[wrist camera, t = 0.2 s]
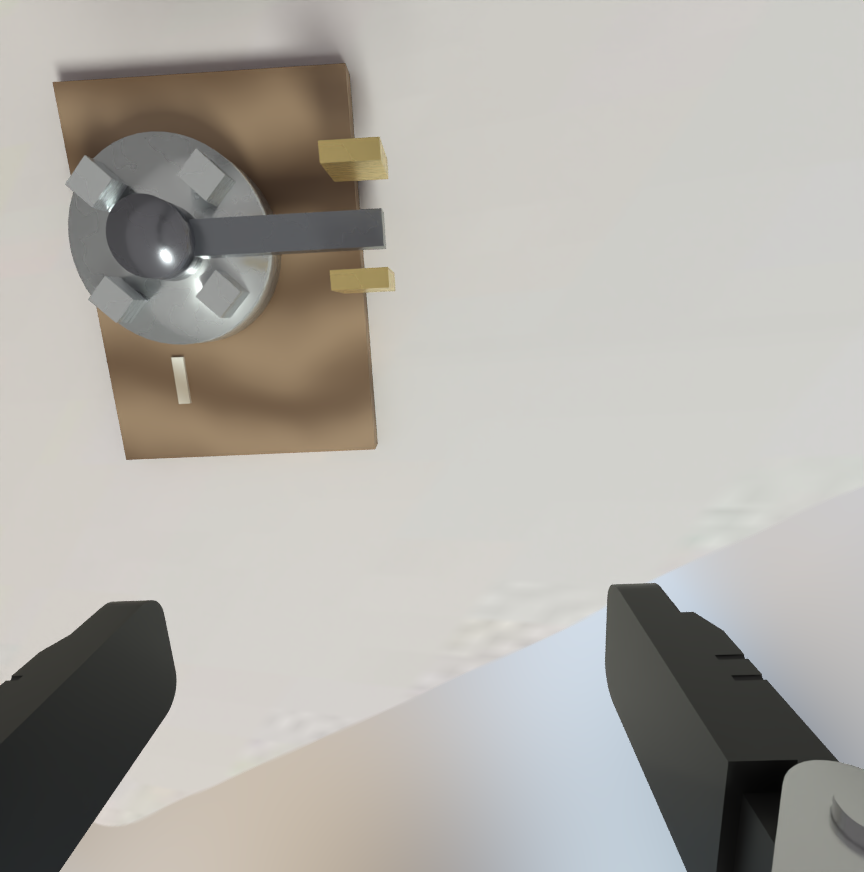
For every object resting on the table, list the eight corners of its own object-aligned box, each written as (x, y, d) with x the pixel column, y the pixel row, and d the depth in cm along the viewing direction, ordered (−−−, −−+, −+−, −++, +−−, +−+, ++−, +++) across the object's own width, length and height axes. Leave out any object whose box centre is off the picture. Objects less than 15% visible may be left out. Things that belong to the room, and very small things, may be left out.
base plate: (70, 92, 32) (50, 80, 30) (349, 74, 32) (344, 61, 30) (138, 454, 38) (124, 460, 36) (377, 443, 37) (374, 450, 35)
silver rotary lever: (78, 151, 31) (-26, 103, 24) (390, 132, 31) (375, 78, 24) (115, 346, 34) (31, 354, 27) (402, 332, 33) (392, 336, 26)
